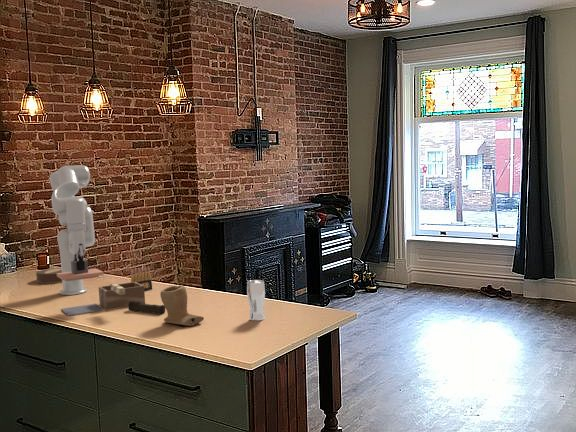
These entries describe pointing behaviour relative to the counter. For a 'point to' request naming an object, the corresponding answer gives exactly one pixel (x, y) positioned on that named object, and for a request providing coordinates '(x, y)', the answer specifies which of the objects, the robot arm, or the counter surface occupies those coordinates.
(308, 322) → the counter surface
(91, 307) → the mat
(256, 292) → the beer glass
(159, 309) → the black rough elongated piece
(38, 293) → the counter surface
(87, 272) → the lid
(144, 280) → the ammunition clip
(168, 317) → the brown boot
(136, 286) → the toolbox
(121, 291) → the rectangular bar
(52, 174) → the robot arm
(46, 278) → the container
